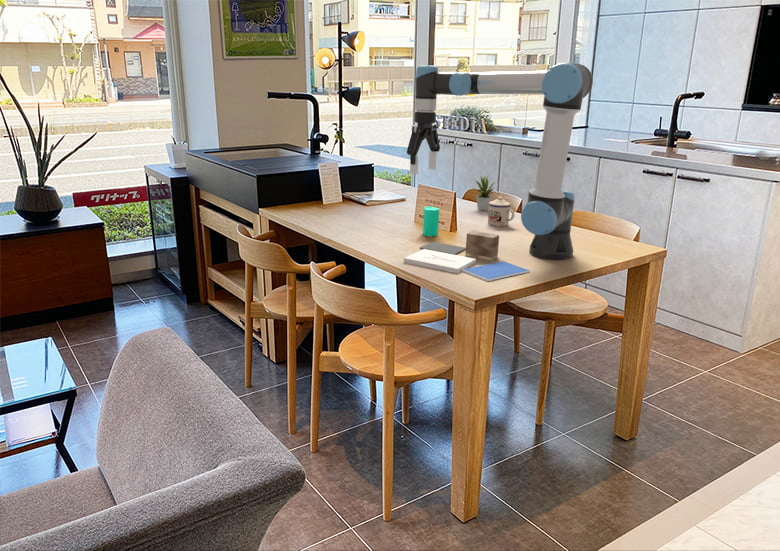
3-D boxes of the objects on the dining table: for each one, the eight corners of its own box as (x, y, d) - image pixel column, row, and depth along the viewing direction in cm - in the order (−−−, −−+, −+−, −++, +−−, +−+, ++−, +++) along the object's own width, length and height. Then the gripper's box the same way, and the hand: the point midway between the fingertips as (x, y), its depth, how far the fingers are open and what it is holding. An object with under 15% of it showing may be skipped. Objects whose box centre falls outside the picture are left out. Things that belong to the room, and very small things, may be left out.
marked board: (475, 263, 213) (476, 258, 213) (457, 273, 202) (457, 268, 201) (423, 253, 223) (424, 248, 223) (403, 262, 212) (403, 257, 211)
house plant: (461, 206, 302) (463, 172, 296) (487, 205, 306) (490, 171, 301) (473, 212, 289) (476, 177, 284) (501, 211, 293) (504, 176, 288)
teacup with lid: (482, 223, 268) (485, 196, 265) (495, 220, 275) (497, 194, 271) (506, 229, 261) (509, 201, 257) (518, 225, 267) (521, 198, 263)
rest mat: (466, 249, 230) (466, 247, 229) (454, 255, 221) (454, 254, 221) (432, 242, 237) (432, 241, 236) (419, 248, 228) (419, 247, 228)
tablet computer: (503, 263, 215) (503, 260, 215) (531, 273, 206) (531, 269, 205) (460, 272, 204) (460, 269, 204) (488, 283, 195) (488, 279, 194)
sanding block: (497, 257, 221) (499, 235, 219) (491, 260, 217) (493, 237, 215) (471, 252, 226) (472, 230, 224) (465, 255, 222) (466, 233, 220)
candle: (420, 232, 251) (421, 203, 247) (434, 232, 253) (435, 202, 249) (426, 236, 245) (427, 206, 242) (440, 235, 247) (442, 205, 244)
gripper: (432, 109, 236) (430, 166, 242) (397, 112, 216) (396, 174, 222) (450, 110, 232) (448, 168, 238) (417, 113, 212) (414, 176, 218)
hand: (423, 171), depth 230 cm, fingers open, 13 cm apart
